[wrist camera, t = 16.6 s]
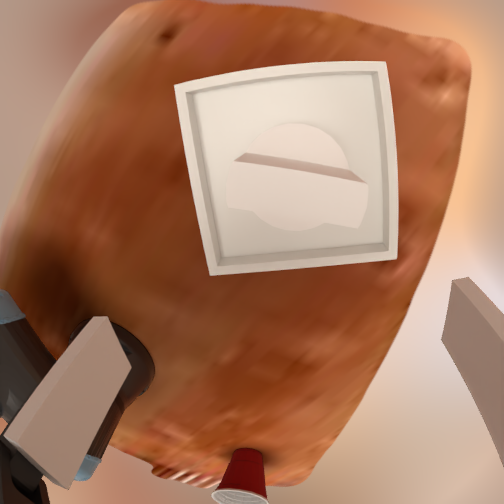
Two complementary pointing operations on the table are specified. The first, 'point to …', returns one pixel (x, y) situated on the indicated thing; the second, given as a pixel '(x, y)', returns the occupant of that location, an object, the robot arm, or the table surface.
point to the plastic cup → (243, 480)
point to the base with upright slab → (297, 180)
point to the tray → (278, 113)
